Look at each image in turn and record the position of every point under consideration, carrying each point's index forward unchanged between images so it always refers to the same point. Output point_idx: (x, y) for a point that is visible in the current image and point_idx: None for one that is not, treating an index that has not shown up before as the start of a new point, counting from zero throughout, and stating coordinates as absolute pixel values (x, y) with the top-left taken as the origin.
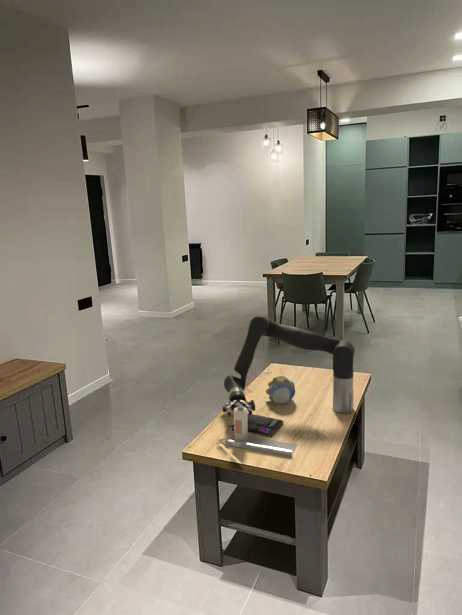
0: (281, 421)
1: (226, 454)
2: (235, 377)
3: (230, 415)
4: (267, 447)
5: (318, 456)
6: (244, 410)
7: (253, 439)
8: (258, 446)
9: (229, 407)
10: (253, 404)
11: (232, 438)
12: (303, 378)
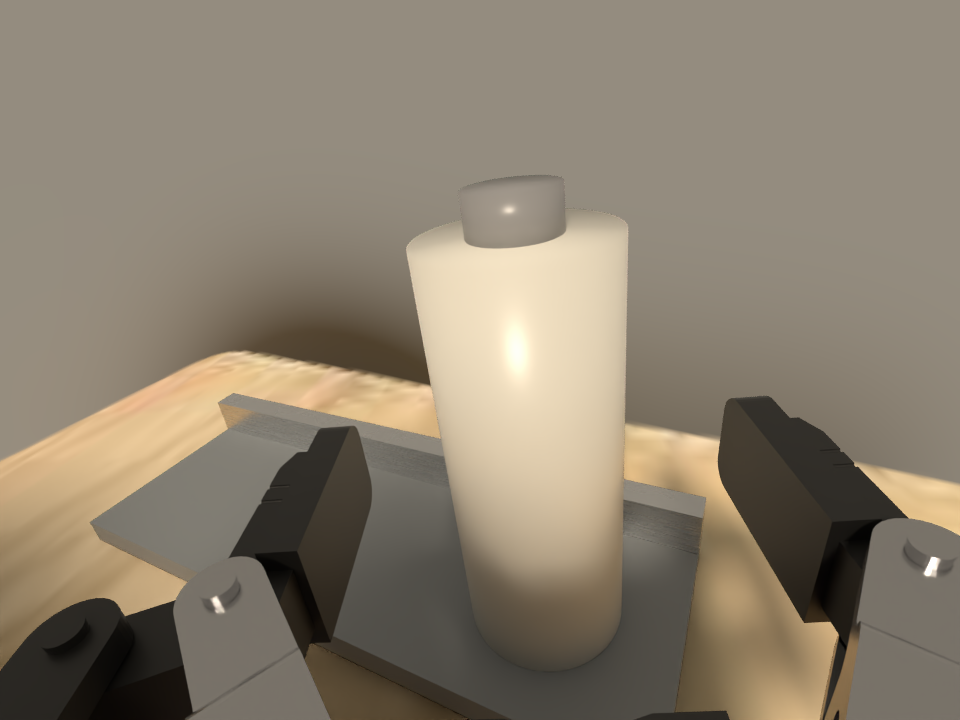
0: None
1: (658, 473)
2: None
3: (722, 456)
4: (350, 421)
5: (84, 454)
6: (458, 230)
7: (409, 612)
8: (408, 433)
9: (868, 541)
10: (37, 685)
11: (655, 649)
12: None
